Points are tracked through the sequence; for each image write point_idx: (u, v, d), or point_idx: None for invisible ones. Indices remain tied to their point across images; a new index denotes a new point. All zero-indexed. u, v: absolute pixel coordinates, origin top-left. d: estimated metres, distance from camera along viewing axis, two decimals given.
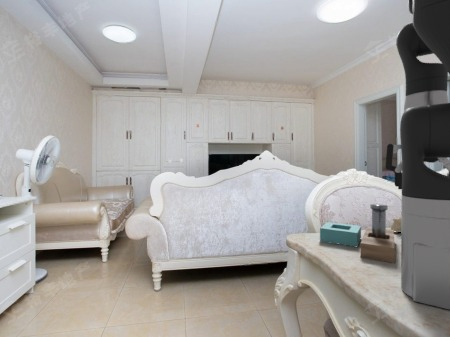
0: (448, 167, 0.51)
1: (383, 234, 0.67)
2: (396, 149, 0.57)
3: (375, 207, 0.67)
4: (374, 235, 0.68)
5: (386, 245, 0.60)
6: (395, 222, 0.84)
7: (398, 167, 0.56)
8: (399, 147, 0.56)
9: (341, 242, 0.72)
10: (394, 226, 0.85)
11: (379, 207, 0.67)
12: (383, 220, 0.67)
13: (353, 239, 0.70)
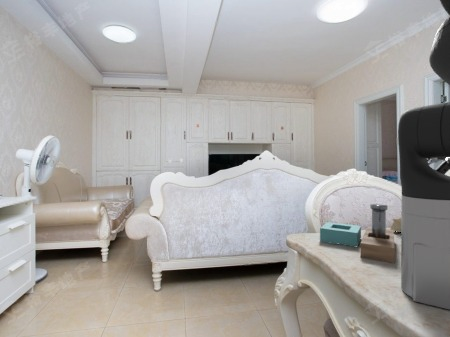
0: None
1: (383, 234, 0.67)
2: None
3: (375, 207, 0.67)
4: (374, 235, 0.68)
5: (386, 245, 0.60)
6: (395, 222, 0.85)
7: None
8: None
9: (341, 242, 0.72)
10: (394, 226, 0.85)
11: (379, 207, 0.67)
12: (383, 220, 0.67)
13: (353, 239, 0.70)
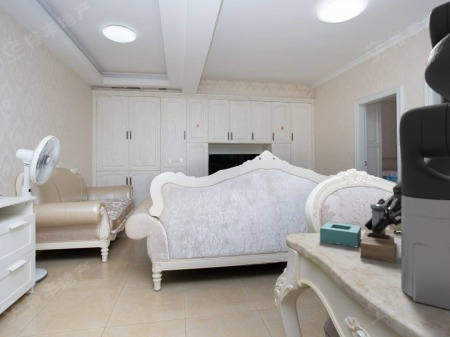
0: None
1: (383, 234, 0.67)
2: (384, 202, 0.73)
3: (375, 207, 0.67)
4: (374, 235, 0.68)
5: (386, 245, 0.60)
6: None
7: None
8: None
9: (341, 242, 0.72)
10: (393, 225, 0.85)
11: (379, 207, 0.67)
12: None
13: (353, 239, 0.70)
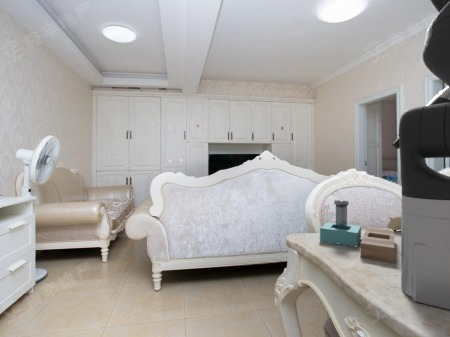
0: None
1: (344, 227, 0.75)
2: None
3: (337, 203, 0.75)
4: (337, 228, 0.76)
5: (386, 245, 0.60)
6: (391, 220, 0.87)
7: None
8: None
9: (341, 242, 0.72)
10: (390, 224, 0.87)
11: (341, 203, 0.75)
12: (344, 214, 0.75)
13: (353, 239, 0.70)
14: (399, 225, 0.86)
